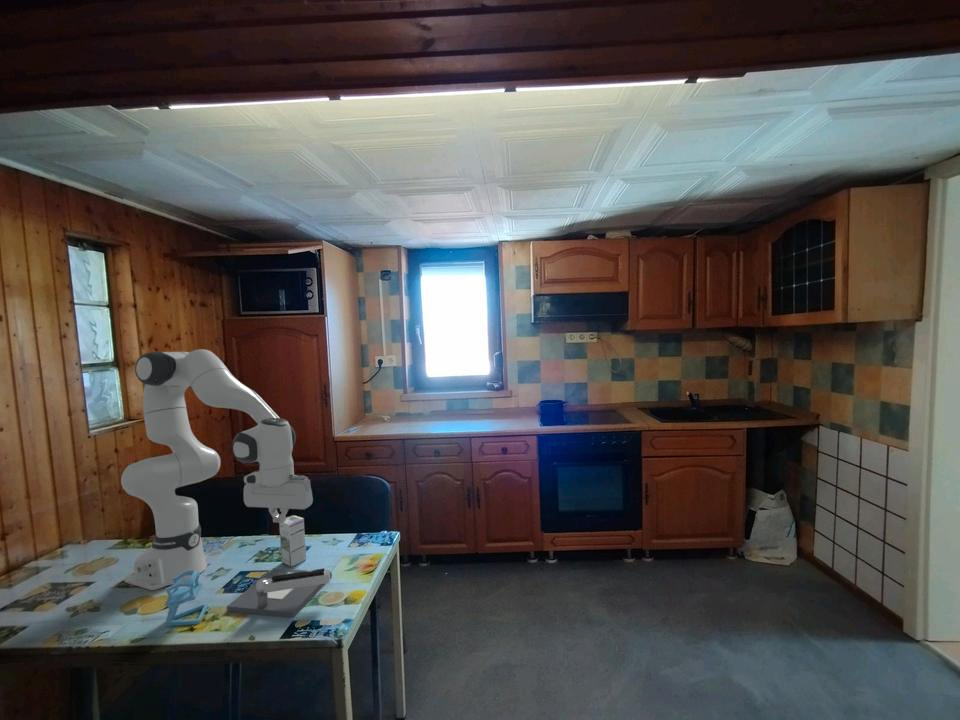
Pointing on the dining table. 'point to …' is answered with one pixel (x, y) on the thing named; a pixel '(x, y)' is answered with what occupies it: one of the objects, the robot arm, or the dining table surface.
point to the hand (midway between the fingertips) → (279, 521)
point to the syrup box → (292, 540)
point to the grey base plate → (275, 598)
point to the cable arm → (292, 581)
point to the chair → (183, 599)
